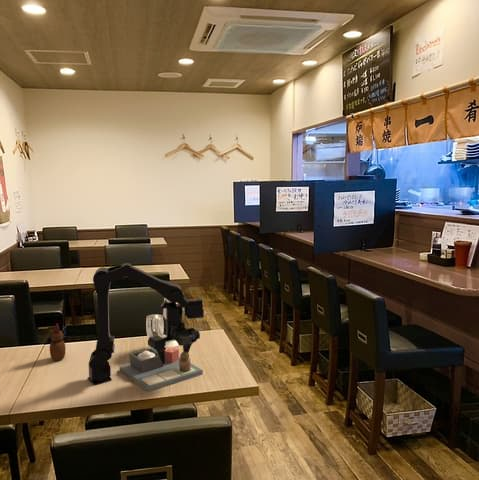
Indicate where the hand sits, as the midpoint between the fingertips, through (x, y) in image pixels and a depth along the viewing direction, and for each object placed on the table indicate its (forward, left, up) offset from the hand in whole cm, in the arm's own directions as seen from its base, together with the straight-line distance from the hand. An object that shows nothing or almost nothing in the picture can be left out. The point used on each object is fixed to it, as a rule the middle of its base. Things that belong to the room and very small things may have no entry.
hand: (174, 360), depth 172 cm
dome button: (-6, +9, -2) cm, 11 cm away
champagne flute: (+15, +26, -5) cm, 30 cm away
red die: (+4, +8, -3) cm, 10 cm away
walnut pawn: (+3, -3, -3) cm, 5 cm away
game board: (-3, +4, -5) cm, 7 cm away
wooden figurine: (-28, +40, -5) cm, 50 cm away
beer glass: (+5, +22, -5) cm, 23 cm away
